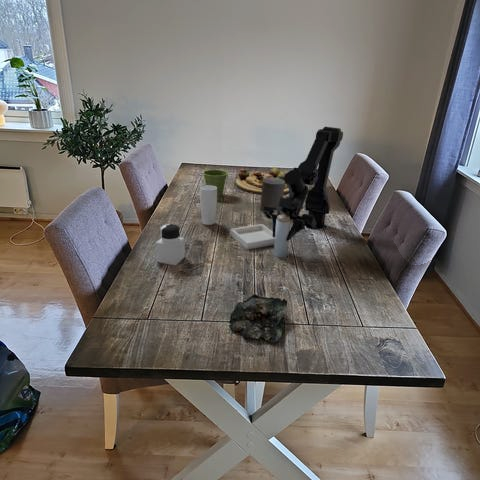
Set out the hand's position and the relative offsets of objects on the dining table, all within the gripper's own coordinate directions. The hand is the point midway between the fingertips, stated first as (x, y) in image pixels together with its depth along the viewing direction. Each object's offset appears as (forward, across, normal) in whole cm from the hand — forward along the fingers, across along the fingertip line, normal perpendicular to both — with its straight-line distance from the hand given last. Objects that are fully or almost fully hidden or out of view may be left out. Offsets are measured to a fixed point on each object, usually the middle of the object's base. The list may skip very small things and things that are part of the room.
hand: (280, 238), depth 144 cm
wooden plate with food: (-46, -42, +56) cm, 84 cm away
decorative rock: (+32, +12, -22) cm, 41 cm away
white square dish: (-1, -14, +10) cm, 17 cm away
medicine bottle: (+21, -29, -11) cm, 37 cm away
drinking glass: (-3, -37, +12) cm, 39 cm away
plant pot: (-25, -54, +35) cm, 69 cm away
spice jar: (+4, 0, +6) cm, 7 cm away
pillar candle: (-23, -23, +33) cm, 46 cm away
